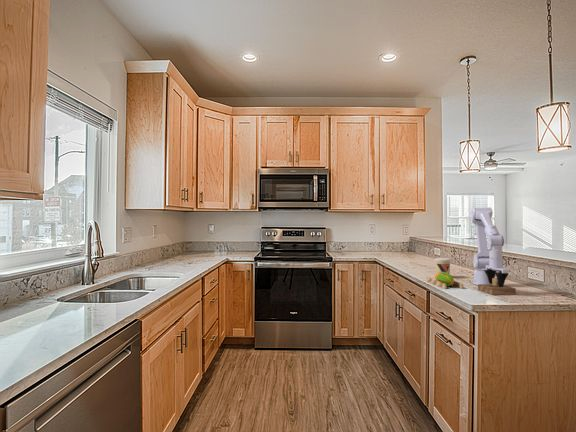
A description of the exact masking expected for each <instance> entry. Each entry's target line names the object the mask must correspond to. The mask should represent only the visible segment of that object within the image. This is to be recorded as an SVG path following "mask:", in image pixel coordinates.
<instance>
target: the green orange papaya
mask: <svg viewBox="0 0 576 432" xmlns="http://www.w3.org/2000/svg"><path fill="white" fill-rule="evenodd" d="M441 273H444V274H436V273H435V275H434V278H435V280H437V281H440V282H442V283H444V284H446V285H447V287H452V286H454V285H453V284H454V281H455V279H454V277H453V276H452V274H451V273H450V274H448V273H446V272H441Z"/></svg>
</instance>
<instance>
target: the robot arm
mask: <svg viewBox="0 0 576 432" xmlns="http://www.w3.org/2000/svg"><path fill="white" fill-rule="evenodd" d="M492 218H493V209H492V208H491V207H472V208H471V209H470V220H471V224H474V227H475V233H476V235H475V236H476V243H477V244H476V245H477V251H478V252H477V253H475V254H474V255H473V261H472V262H473V267H474V269H475V270H474V271H473V282H472V284H474V285H476V286H478V284H492V278H497V280H498V286H499V287H503V286H504V285H505V282H506V279H507V277H508V276H509V273H508V269H507V268H505V267H503V246H504V245H505V238H504V235H503V234H501V233H500V232H499V230H498V227H497V226H496V225H494V224H493V220H492Z"/></svg>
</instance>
